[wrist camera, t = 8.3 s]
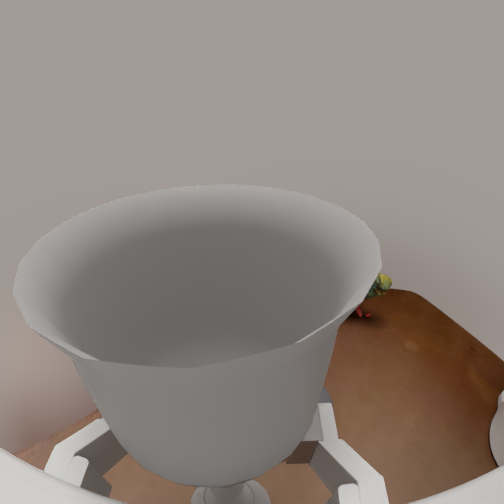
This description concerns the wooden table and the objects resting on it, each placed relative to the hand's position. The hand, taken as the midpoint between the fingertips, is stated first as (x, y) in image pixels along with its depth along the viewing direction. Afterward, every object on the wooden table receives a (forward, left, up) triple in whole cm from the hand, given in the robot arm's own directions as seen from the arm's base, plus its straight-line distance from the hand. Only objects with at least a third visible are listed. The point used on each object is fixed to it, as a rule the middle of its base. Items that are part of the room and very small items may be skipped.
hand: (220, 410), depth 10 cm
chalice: (0, +1, -11) cm, 11 cm away
